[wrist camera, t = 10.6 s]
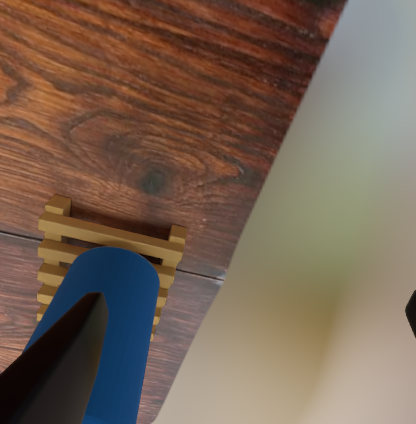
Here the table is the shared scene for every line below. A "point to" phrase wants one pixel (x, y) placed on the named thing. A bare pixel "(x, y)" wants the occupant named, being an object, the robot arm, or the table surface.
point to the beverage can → (112, 326)
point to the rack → (70, 227)
